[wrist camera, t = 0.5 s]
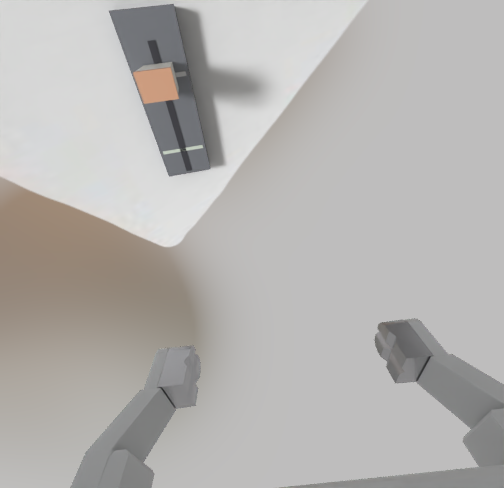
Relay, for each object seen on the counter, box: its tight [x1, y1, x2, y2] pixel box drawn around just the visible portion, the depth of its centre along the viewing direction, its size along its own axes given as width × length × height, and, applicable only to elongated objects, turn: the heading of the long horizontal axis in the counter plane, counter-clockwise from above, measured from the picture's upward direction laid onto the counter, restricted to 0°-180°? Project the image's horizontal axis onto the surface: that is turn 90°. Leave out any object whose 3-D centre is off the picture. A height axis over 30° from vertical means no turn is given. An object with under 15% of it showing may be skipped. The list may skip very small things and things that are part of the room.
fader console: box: [109, 4, 210, 176], centre depth 42 cm, size 25×9×3 cm, turn 5°
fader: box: [133, 62, 179, 104], centre depth 34 cm, size 4×5×10 cm
